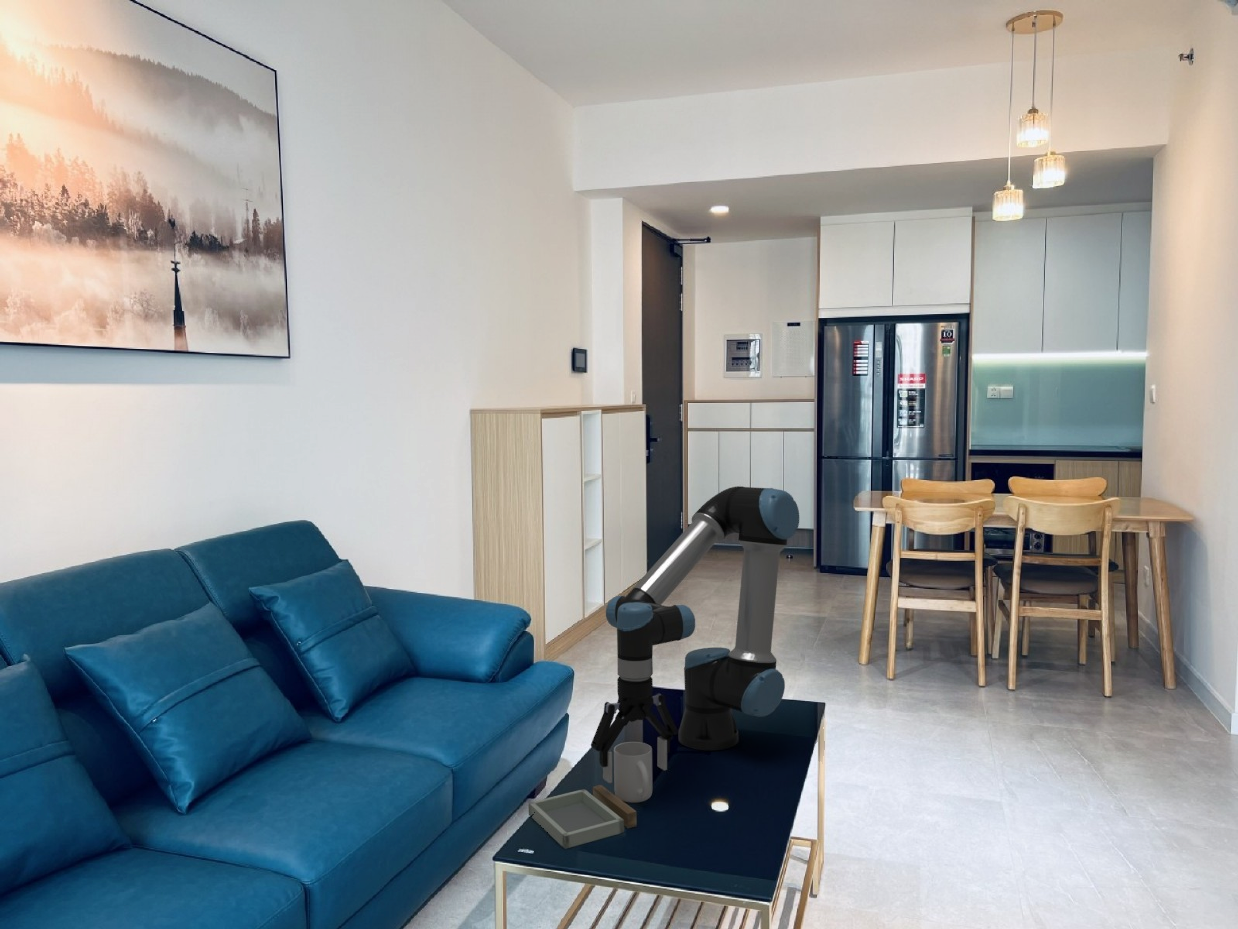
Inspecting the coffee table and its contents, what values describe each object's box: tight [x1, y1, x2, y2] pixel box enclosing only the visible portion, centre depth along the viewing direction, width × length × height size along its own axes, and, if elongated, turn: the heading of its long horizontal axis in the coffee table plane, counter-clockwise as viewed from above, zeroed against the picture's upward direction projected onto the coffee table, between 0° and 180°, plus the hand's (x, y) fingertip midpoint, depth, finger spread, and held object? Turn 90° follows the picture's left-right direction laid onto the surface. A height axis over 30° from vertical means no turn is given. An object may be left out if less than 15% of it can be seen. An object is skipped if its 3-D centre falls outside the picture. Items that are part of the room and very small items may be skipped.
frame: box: [528, 788, 625, 850], centre depth 177 cm, size 13×17×2 cm
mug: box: [613, 741, 653, 804], centre depth 188 cm, size 12×8×10 cm
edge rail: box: [592, 784, 638, 829], centre depth 182 cm, size 2×15×3 cm, turn 29°
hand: (635, 774), depth 188 cm, fingers open, 13 cm apart
